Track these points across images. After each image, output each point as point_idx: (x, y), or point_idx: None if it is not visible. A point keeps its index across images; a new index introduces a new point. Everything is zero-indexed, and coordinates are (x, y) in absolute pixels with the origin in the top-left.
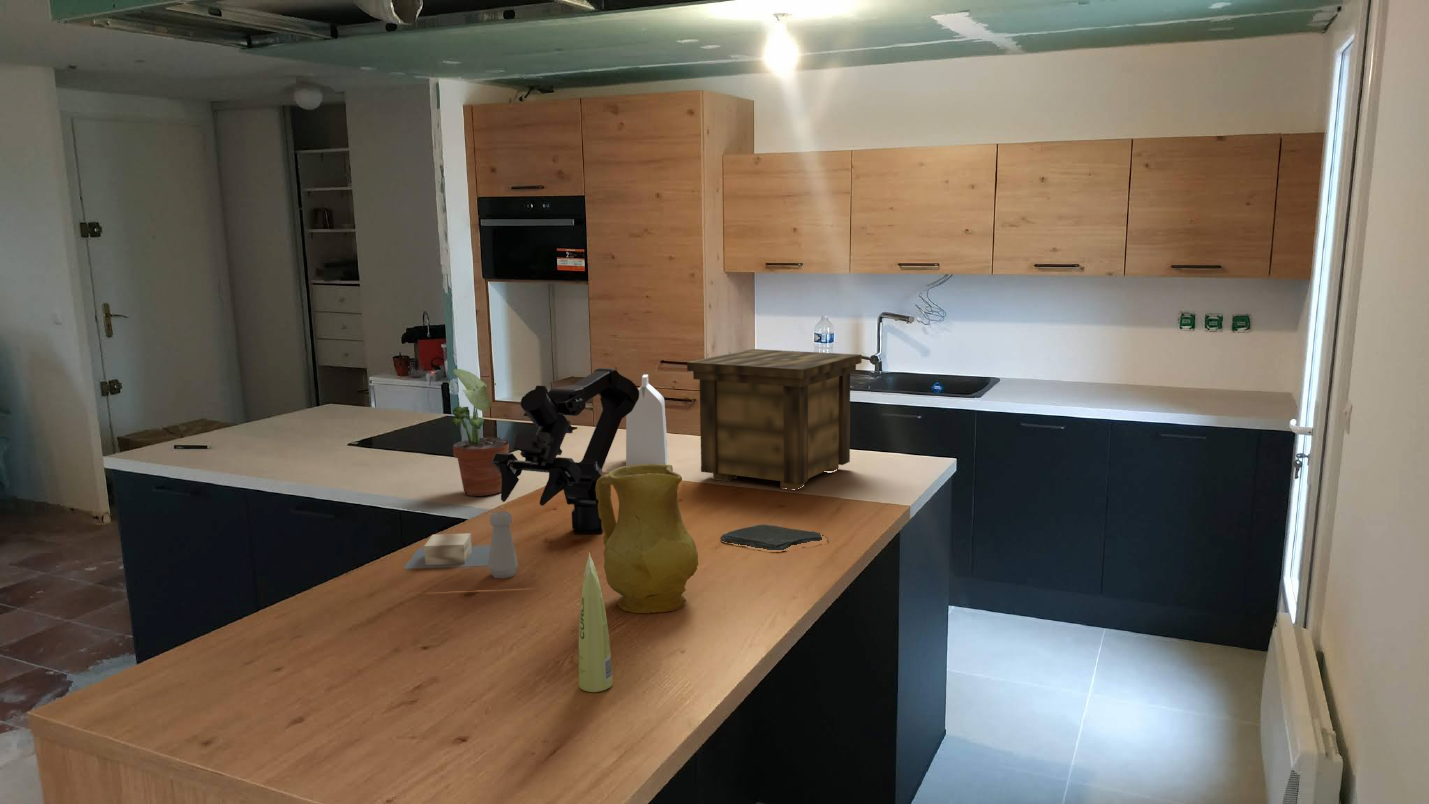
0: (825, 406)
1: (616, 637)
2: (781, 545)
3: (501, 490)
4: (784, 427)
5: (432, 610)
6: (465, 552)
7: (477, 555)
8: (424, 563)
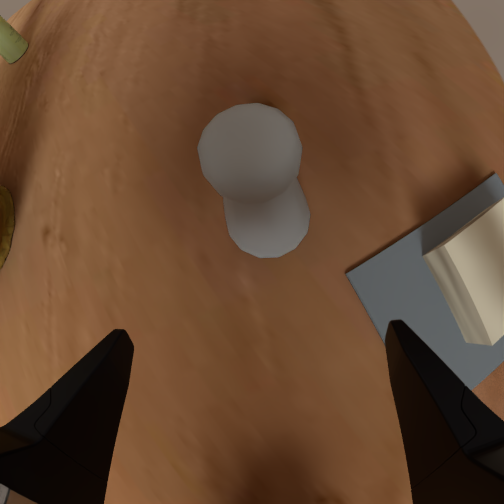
0: None
1: (6, 121)
2: None
3: (433, 353)
4: None
5: (271, 43)
6: (440, 265)
7: (436, 324)
8: None
